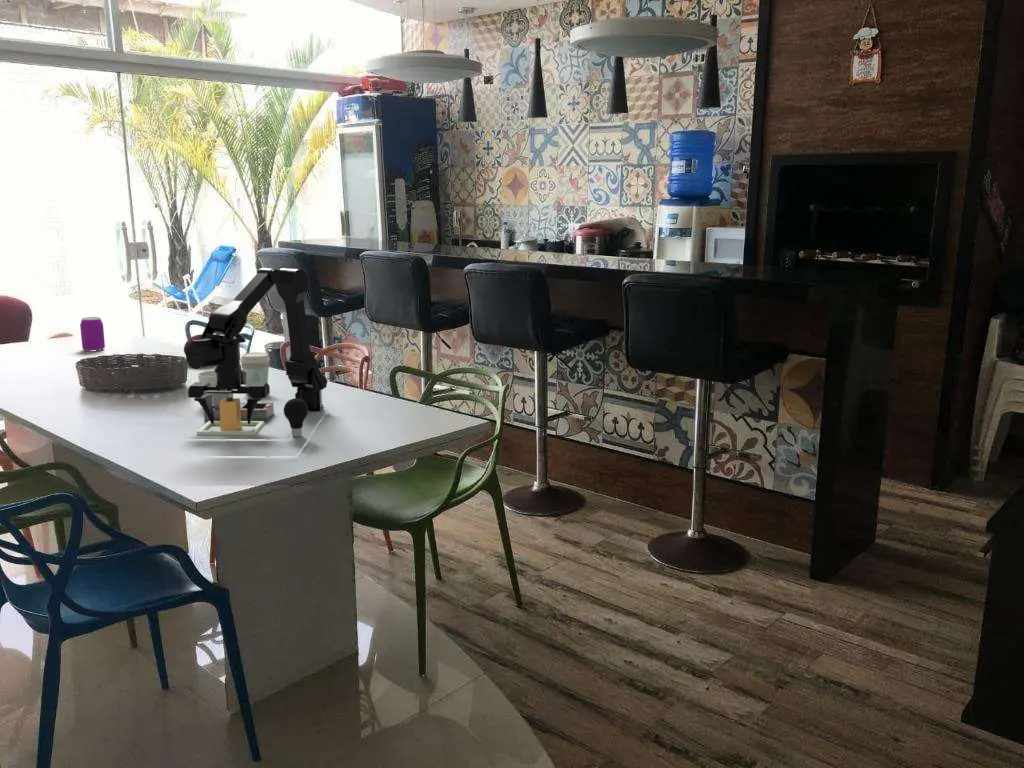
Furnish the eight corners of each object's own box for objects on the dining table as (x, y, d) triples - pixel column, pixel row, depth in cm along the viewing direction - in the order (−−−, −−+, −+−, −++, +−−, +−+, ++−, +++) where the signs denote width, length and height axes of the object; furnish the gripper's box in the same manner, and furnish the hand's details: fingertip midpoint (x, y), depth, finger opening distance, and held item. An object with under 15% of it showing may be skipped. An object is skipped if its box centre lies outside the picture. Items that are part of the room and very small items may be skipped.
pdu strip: (273, 417, 230) (273, 401, 229) (267, 424, 222) (266, 408, 221) (213, 416, 229) (212, 401, 228) (204, 424, 221) (203, 408, 220)
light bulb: (296, 442, 207) (295, 402, 205) (279, 438, 210) (277, 399, 208) (314, 437, 212) (312, 398, 210) (297, 433, 215) (295, 394, 213)
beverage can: (77, 351, 317) (74, 319, 314) (91, 347, 324) (88, 316, 322) (96, 352, 316) (93, 320, 313) (109, 348, 323) (106, 317, 320)
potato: (209, 358, 307) (207, 330, 305) (225, 364, 298) (223, 335, 296) (178, 362, 300) (176, 333, 298) (193, 368, 291) (192, 338, 288)
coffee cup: (235, 395, 253) (233, 355, 251) (254, 389, 261) (252, 351, 259) (259, 398, 250) (257, 358, 248) (277, 392, 258) (275, 353, 256)
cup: (221, 413, 233) (219, 377, 231) (194, 411, 235) (192, 375, 233) (236, 406, 241) (234, 371, 239) (210, 404, 243) (208, 369, 240)
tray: (264, 427, 219) (264, 421, 219) (255, 438, 210) (254, 431, 209) (209, 427, 219) (208, 420, 218) (197, 438, 209) (196, 431, 208)
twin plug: (234, 415, 227) (232, 386, 226) (230, 419, 223) (228, 390, 222) (218, 415, 227) (217, 386, 225) (214, 418, 223) (212, 389, 222)
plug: (241, 429, 216) (239, 396, 214) (237, 433, 212) (235, 399, 210) (225, 429, 216) (223, 396, 214) (221, 433, 212) (219, 399, 210)
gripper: (273, 356, 219) (275, 415, 222) (199, 355, 218) (202, 415, 221) (263, 365, 208) (266, 426, 211) (185, 364, 207) (189, 426, 210)
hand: (231, 423), depth 214 cm, fingers open, 9 cm apart
